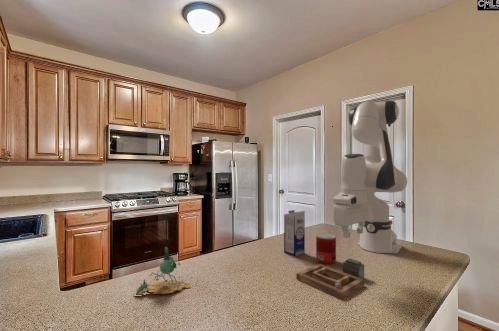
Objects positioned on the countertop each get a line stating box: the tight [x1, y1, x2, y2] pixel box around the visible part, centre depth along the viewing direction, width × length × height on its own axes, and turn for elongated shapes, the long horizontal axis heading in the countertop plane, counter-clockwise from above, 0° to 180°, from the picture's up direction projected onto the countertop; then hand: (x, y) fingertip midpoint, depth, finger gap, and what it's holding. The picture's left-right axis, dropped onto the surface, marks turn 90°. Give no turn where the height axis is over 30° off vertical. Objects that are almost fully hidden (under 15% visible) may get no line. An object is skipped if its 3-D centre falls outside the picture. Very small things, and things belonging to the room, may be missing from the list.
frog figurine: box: [134, 246, 192, 295], centre depth 81 cm, size 10×18×15 cm, turn 105°
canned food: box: [315, 232, 337, 265], centre depth 105 cm, size 8×8×11 cm
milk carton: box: [283, 209, 306, 258], centre depth 115 cm, size 7×7×20 cm
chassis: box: [295, 263, 365, 300], centre depth 86 cm, size 14×18×3 cm
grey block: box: [342, 258, 365, 280], centre depth 91 cm, size 4×6×6 cm, turn 39°
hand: (353, 235), depth 90 cm, fingers open, 8 cm apart
